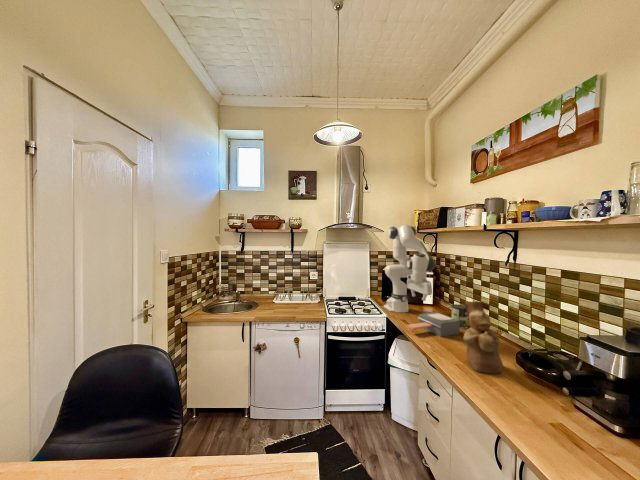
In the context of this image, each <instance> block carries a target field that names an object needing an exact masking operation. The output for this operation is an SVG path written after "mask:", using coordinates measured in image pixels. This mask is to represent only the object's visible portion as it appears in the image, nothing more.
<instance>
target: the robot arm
mask: <svg viewBox="0 0 640 480" xmlns="http://www.w3.org/2000/svg"><path fill="white" fill-rule="evenodd" d="M387 232H388V233H387V234H388V238H389V239H390V240H392V241H393V242H392V258H393V259H394V260H397V261H398V262H399V264H388V265H386V266H385V268H384V273H385V275H386V276H387V278H389V279H390V281H391V282H392V292H391V297H390V298H388V299H387V300H386V304H384V305H383V307H384V308H385V309H386V310H387V311H390V312H395V313H408V312H409V309H410V308H409V304H408V303H409V301H408V294H407V291H408V290H410V292H411V296H412V297H414V298H415V297H416V293H415V292H417V293H420V294H422V297H421V301H424V302H425V301H426V299H427V297H428V296H432V294H433V288H432V282H431V281H429V280H428V279H427V278H428V277H427V276H428V273H427V272H429V273H430V272H432V271H433V270H434V269H435V267H436V263H435V260H434V258H433V257H432V256H431V255H430V253H429V251H428V250H427V248H426V246H425V244H424V243H423V242H422V240H420V239H418V237H416V235H417V230H416V228H415V227H414V226H411V225H409V224H402V225H400V226H399V225H398V226H391V227H390V228H388V231H387ZM407 249H411V250H413V251H417V252H418V253H417V252H416V253H414V254H413V256H410V257H408V254H407V252H408V251H407ZM401 278H407V280H406V283H405V282H404V281H402V280H401Z"/></svg>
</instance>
